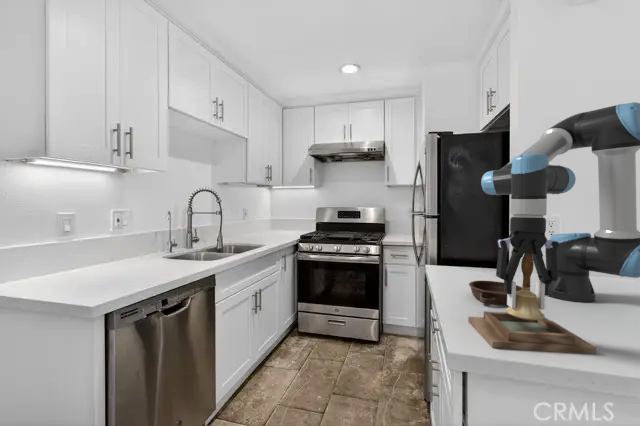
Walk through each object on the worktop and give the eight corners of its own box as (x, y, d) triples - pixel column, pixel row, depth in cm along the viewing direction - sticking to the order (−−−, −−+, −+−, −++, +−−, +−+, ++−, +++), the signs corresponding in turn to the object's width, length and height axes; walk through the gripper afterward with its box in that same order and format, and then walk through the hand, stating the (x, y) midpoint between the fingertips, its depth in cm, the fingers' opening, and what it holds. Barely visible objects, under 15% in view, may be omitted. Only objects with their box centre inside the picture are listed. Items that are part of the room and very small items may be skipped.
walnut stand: (551, 325, 85) (552, 313, 85) (596, 354, 70) (596, 338, 69) (468, 321, 88) (468, 309, 88) (492, 347, 72) (492, 333, 72)
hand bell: (543, 312, 80) (545, 251, 80) (546, 323, 73) (548, 255, 72) (506, 306, 84) (507, 248, 84) (505, 316, 77) (507, 252, 77)
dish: (530, 298, 111) (531, 284, 111) (519, 314, 95) (519, 298, 95) (478, 289, 123) (478, 276, 123) (459, 302, 107) (460, 287, 106)
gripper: (559, 216, 80) (556, 304, 81) (482, 215, 83) (480, 300, 84) (579, 217, 73) (576, 314, 74) (494, 216, 75) (491, 310, 76)
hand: (525, 307), depth 79 cm, fingers closed on hand bell, 6 cm apart
